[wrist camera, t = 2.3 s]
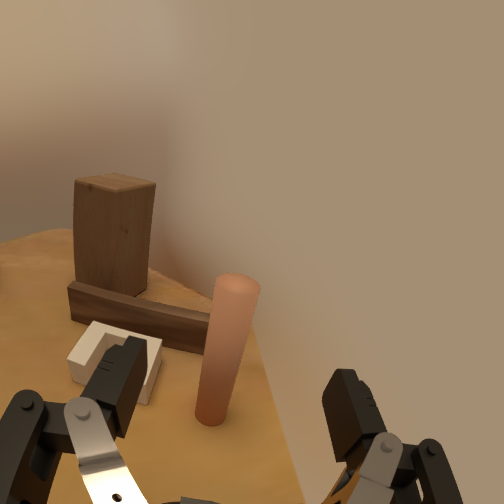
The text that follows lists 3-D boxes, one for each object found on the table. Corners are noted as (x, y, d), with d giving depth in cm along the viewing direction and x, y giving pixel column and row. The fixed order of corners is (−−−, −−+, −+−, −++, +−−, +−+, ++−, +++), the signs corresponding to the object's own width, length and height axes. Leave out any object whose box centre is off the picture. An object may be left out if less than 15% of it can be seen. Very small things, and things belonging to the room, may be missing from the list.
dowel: (188, 411, 28) (207, 278, 22) (210, 398, 31) (237, 269, 24) (209, 431, 26) (239, 300, 20) (230, 416, 29) (269, 288, 22)
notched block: (147, 405, 27) (145, 384, 26) (73, 380, 26) (66, 358, 25) (161, 360, 35) (162, 339, 33) (96, 342, 34) (93, 320, 32)
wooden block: (113, 312, 41) (115, 189, 34) (75, 289, 43) (73, 178, 36) (147, 288, 50) (157, 182, 43) (110, 271, 52) (115, 172, 45)
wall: (207, 355, 38) (212, 323, 36) (71, 319, 36) (67, 286, 34) (208, 346, 40) (214, 314, 38) (77, 312, 38) (73, 280, 36)
